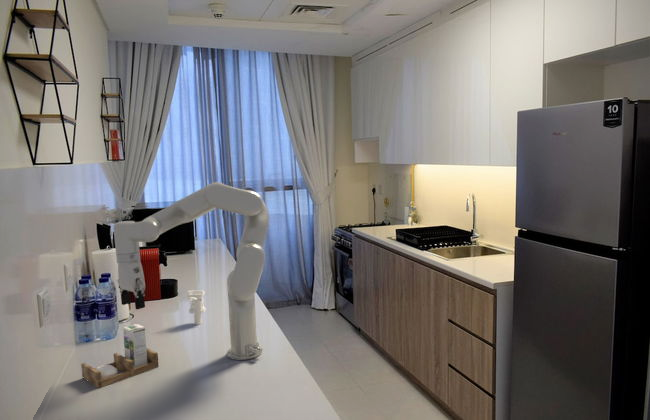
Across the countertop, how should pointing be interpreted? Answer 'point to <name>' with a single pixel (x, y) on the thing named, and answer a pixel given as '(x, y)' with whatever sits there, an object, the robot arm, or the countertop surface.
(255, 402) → the countertop surface
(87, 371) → the rack
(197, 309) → the white slotted cylinder
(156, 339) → the countertop surface
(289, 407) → the countertop surface
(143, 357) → the syrup box
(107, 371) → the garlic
